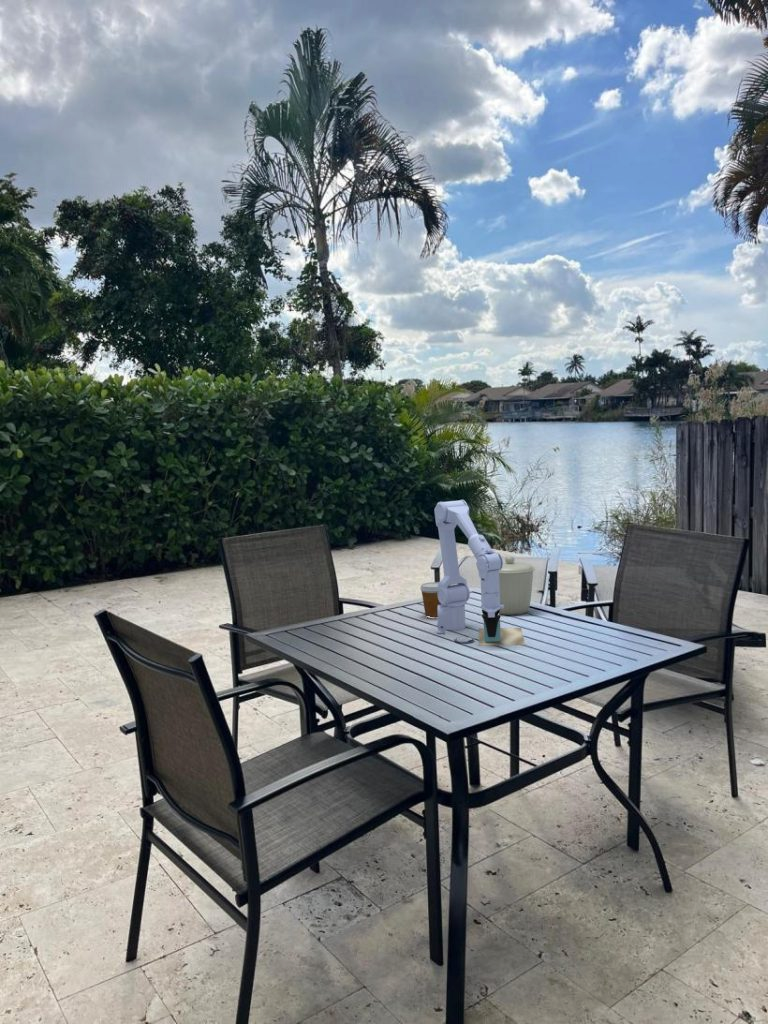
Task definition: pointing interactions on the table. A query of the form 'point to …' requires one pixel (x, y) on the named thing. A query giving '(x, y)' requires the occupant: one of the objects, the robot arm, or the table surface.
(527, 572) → the canister
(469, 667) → the table surface
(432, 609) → the disposable coffee cup
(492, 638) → the housing
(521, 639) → the base board
